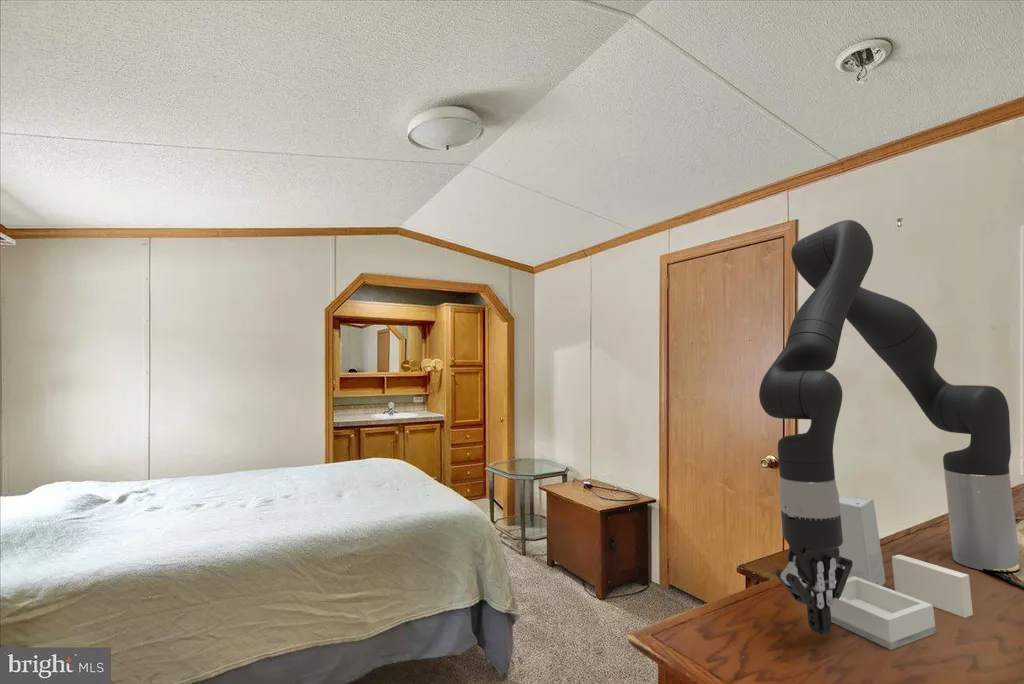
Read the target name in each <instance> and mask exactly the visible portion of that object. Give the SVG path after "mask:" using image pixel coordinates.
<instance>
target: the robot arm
mask: <svg viewBox="0 0 1024 684" xmlns="http://www.w3.org/2000/svg"><path fill="white" fill-rule="evenodd" d="M790 252H791V255H790V256H791V260H792V263H793V265H794V267H795V269H796V271H797V272H798V274H799V275H800V276H801V277H802V279H803V280H805V282H806V283H807V284H808V285H809V286H811V288H813V292H812V293H811V294H810V295H809V296H808V298H807V299H806V300H805V301H804V302H803V304H802V305H801V306H800V308H799V309H798V310H797V311H796V314H795V315H794V318H793V319H792V322H791V325H790V328H789V332H788V334H787V339H786V343H785V347H784V348H783V349H782V350H781V352H780V353H779V354H778V356H777V358H776V359H775V360H774V362H773V363H772V365H770V366H769V368H768V369H767V372H766V373H765V374H764V376H763V379H762V380H761V382H760V385H759V391H758V392H759V393H758V395H759V396H758V399H759V403H760V406H761V408H762V409H763V410H764V412H765V413H766V414H767V415H768V416H770V417H772V418H775V419H785V420H810V426H809V428H808V430H807V431H806V432H804V433H797V434H790V435H786V436H782V437H781V438H780V439H779V440H778V442H777V458H778V459H777V460H778V469H779V470H778V471H779V491H778V492H779V493H778V494H779V504H780V513H781V515H780V516H781V526H782V537H783V538H784V540H785V541H786V543H787V545H788V553H787V561H788V564H787V565H786V567H785V568H784V569H780V568H779V569H778V570H777V571H776V574H775V575H776V577H777V579H778V580H779V581H780V582H781V584H782V585H783V586H784V588H785V589H786V590H787V592H788V593H789V595H790V596H791V597H792V598H793V599H794V601H796V602H799V603H802V604H803V605H806V610H807V622H808V625H809V627H810V629H811V630H812V631H814V632H816V633H818V634H820V635H825V634H829V633H830V632H832V622H831V612H830V606H831V605H832V603H833V599H834V598H837V599H839V598H840V597H841V594H842V592H843V589H844V586H845V584H846V581H847V579H848V576H849V573H850V571H851V568H852V565H853V562H852V560H850V559H847V558H844V557H842V556H841V555H840V551H839V548H838V547H840V546H841V545H842V543H843V536H842V525H841V514H840V503H839V495H840V494H839V490H838V487H837V481H836V475H835V473H836V472H835V462H834V440H835V434H836V428H837V427H836V426H837V423H838V418H839V415H840V411H841V407H842V404H843V403H842V401H843V387H842V385H841V384H840V381H839V380H838V378H837V377H836V376H835V375H834V374H832V373H831V372H829V370H830V369H831V368H832V367H833V366H834V365H835V362H836V360H837V355H838V351H839V346H840V341H841V337H842V331H843V328H844V324H845V321H846V320H847V322H848V323H850V324H851V326H852V327H853V328H854V329H855V330H856V331H857V333H859V335H860V336H861V337H862V338H863V340H864V341H865V342H866V344H867V345H868V346H869V347H870V348H871V349H872V350H873V351H874V352H875V354H876V355H877V356H878V357H879V358H880V359H881V360H882V361H883V362H884V363H885V365H886V364H887V366H888V367H889V368H890V370H891V371H892V372H893V373H894V374H895V376H896V377H897V378H898V379H899V380H900V381H901V383H902V384H903V385H904V387H905V388H906V389H907V390H908V392H909V393H910V395H911V396H912V397H913V398H914V401H915V402H916V404H917V405H918V407H920V410H921V411H922V412H923V414H924V415H925V417H926V418H927V419H928V420H929V422H931V424H933V426H934V427H936V428H937V429H939V430H941V431H944V432H948V433H954V434H964V435H965V434H966V435H970V442H969V445H968V446H967V447H964V448H962V449H959V450H953V451H949V452H946V453H944V455H943V457H942V463H943V464H942V465H943V471H944V481H945V482H944V483H945V489H946V503H947V513H948V521H949V531H950V541H951V543H950V544H951V552H952V559H953V561H955V562H956V563H958V564H959V565H962V566H965V567H968V568H972V569H975V570H980V571H984V570H983V569H1008V568H1012V567H1014V566H1016V565H1018V564H1019V559H1020V552H1019V545H1018V544H1019V542H1018V532H1017V531H1018V530H1017V523H1016V514H1015V512H1014V511H1015V509H1014V500H1013V493H1012V490H1013V489H1012V484H1011V483H1012V482H1011V474H1010V460H1011V455H1012V446H1011V425H1010V424H1011V423H1010V420H1011V419H1010V409H1009V404H1008V401H1007V399H1006V396H1005V394H1004V393H1003V392H1002V391H1001V390H1000V389H999V388H997V387H995V386H992V385H979V384H978V385H975V384H974V385H973V384H972V385H970V384H969V385H968V384H967V385H966V384H965V385H964V384H963V385H960V384H951V383H949V382H947V381H946V380H945V379H944V378H943V377H942V376H941V375H940V373H938V371H937V370H936V368H935V361H936V357H937V351H938V342H937V341H938V340H937V337H936V334H935V333H934V331H933V330H932V328H931V327H930V326H929V324H928V323H927V322H926V321H925V320H924V319H923V318H922V316H921V315H920V314H919V313H918V312H917V311H916V310H915V309H914V308H913V307H911V306H910V305H908V304H906V303H904V302H902V301H900V300H898V299H896V298H892V297H890V296H886V295H884V294H881V293H877V292H875V291H872V290H869V289H866V288H865V287H862V286H861V285H862V282H863V281H864V279H865V277H866V274H867V273H868V270H869V269H870V266H871V264H872V260H873V257H874V244H873V240H872V237H871V236H870V233H869V231H868V230H867V229H866V228H865V227H864V226H863V225H862V223H859V222H858V221H856V220H853V219H845V220H841V221H838V222H835V223H833V224H830V225H829V226H826V227H824V228H822V229H820V230H817V231H816V232H813V233H811V234H809V235H807V236H804V237H803V238H800V239H799V240H798V241H796V242H795V243H794V244H793V245H792V248H791V250H790ZM1018 556H1019V557H1018ZM1019 565H1020V564H1019ZM835 580H836V584H835Z"/></svg>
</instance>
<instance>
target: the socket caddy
mask: <svg viewBox="0 0 1024 684" xmlns="http://www.w3.org/2000/svg"><path fill="white" fill-rule="evenodd" d="M835 584H836V582H835ZM830 612H831V624H832V623H833V624H834V625H837V626H839V627H842V628H844V629H845V630H848V631H850V632H852V633H854V634H856V635H858V636H860V637H862V638H865V639H867V640H869V641H871V642H874V643H876V644H878V646H879V645H880V646H881V647H884V648H886V649H888V650H890V651H893V650H895V649H898V648H900V647H903V646H905V645H906V646H907V645H909V644H911V643H914V642H916V641H919V640H922V639H925V638H926V637H929V636H933V635H936V634H937V632H936V621H935V611H934V606H933V605H932V604H930V603H927V602H924V601H921V600H919V599H916V598H913V597H910V596H908V595H905V594H902V593H899V592H897V591H895V589H894V590H893V589H891V588H888V587H885V586H880V585H877V584H875V583H872V582H869V581H866V580H864V579H861V578H858V577H855V576H853V577H849V578H848V579H847V581H846V584H845V586H844V589H843V592H842V594H841V597H840V598H839V599H837V598H834V599H833V603H832V605H831V606H830Z"/></svg>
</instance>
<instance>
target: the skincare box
mask: <svg viewBox="0 0 1024 684" xmlns="http://www.w3.org/2000/svg"><path fill="white" fill-rule="evenodd" d="M874 501H875V500H874V498H868V497H860V496H859V497H858V496H849V495H842V494H839V503H840V514H841V525H842V536H843V543H842V545H841V546H840V547H838V548H839V551H840V555H841V556H842V557H844V558H847V559H850V560H852V562H853V565H852V568H851V571H850V573H849V576H848V578H849V577H853V576H855V577H858V578H861V579H864V580H866V581H869V582H872V583H875V584H877V585H880V586H883V587H885V585H886V581H887V580H886V575H885V568H884V562H883V554H882V548H881V540H880V534H879V527H878V522H877V521H878V519H877V515H876V508H875V502H874ZM835 582H836V580H835Z"/></svg>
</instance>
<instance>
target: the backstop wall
mask: <svg viewBox="0 0 1024 684" xmlns="http://www.w3.org/2000/svg"><path fill="white" fill-rule="evenodd" d="M891 562H892V563H891V565H892V573H893V580H894V581H893V583H894V591H897V592H899V593H902V594H905V595H908V596H910V597H913V598H916V599H919V600H921V601H924V602H927V603H930V604H932V605H933V608H934V607H935V608H936V609H937V608H938V609H939V610H942V611H945V612H948V613H950V614H953V615H957V616H958V617H962V618H964V619H966V618H968V617H970V616H973V615H974V612H973V604H972V593H971V591H972V590H971V584H970V583H971V582H970V574H967V573H963V572H960V571H957V570H953V569H950V568H947V567H944V566H940V565H937V564H933V563H930V562H926V561H923V560H920V559H917V558H913V557H910V556H907V555H903V554H900V553H899V554H896V555H892V556H891Z"/></svg>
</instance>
